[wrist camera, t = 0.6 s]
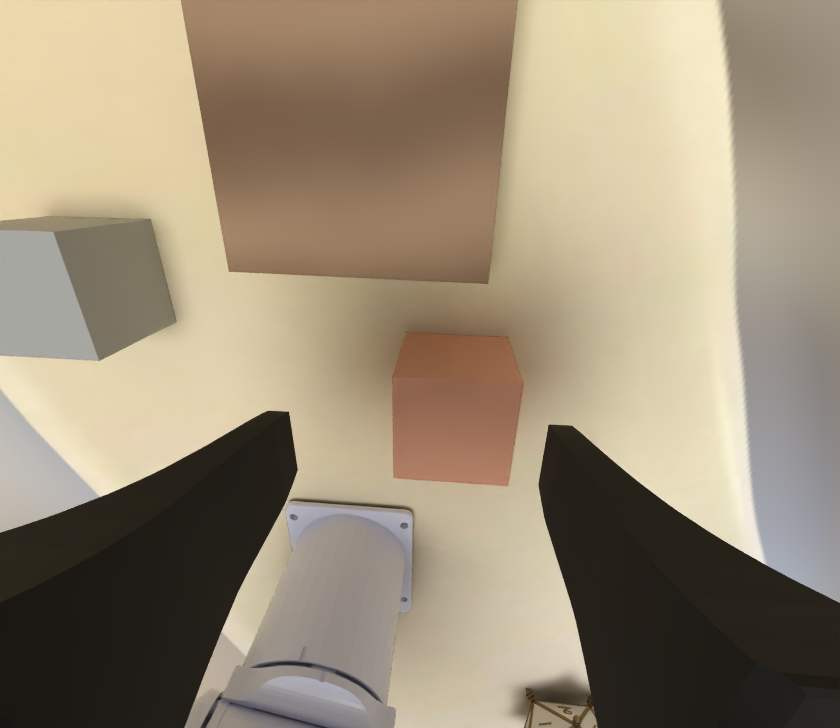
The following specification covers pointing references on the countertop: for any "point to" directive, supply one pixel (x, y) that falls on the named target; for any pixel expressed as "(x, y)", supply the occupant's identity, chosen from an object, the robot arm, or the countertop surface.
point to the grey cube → (79, 286)
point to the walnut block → (354, 132)
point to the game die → (559, 714)
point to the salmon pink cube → (455, 408)
